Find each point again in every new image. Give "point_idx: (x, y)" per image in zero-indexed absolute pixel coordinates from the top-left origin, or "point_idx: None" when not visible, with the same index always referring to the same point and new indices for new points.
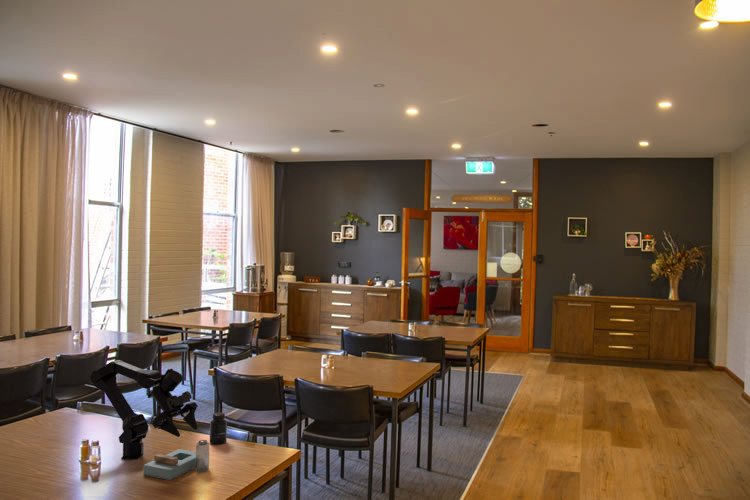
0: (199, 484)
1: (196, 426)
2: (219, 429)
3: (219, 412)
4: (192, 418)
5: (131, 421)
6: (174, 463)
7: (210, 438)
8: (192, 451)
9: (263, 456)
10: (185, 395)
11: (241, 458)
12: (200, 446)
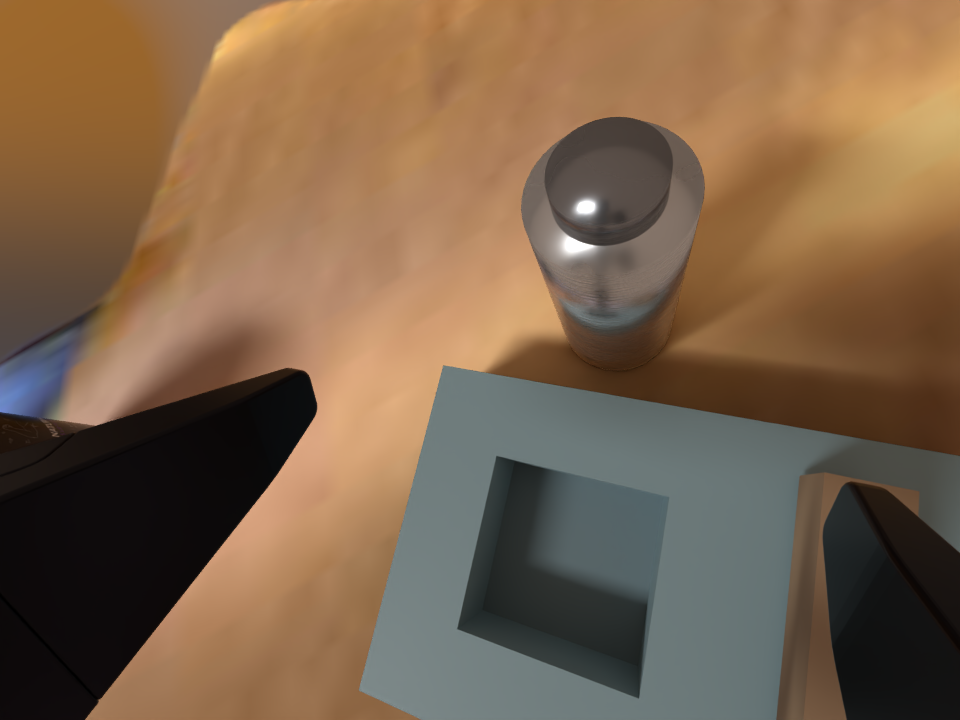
0: (918, 178)
1: (273, 378)
2: (10, 443)
3: None
4: (55, 488)
5: None
6: None
7: None
8: (410, 506)
9: (319, 103)
10: None
11: (360, 194)
12: (699, 174)
